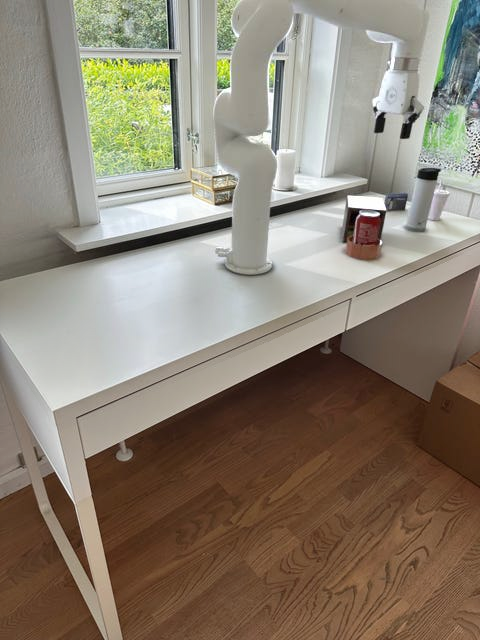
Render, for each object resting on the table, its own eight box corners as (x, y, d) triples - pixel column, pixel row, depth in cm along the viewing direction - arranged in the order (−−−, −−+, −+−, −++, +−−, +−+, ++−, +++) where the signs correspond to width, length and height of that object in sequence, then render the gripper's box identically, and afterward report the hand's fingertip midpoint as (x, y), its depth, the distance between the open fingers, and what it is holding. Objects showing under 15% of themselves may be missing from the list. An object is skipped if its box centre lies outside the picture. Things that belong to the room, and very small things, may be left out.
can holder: (346, 257, 133) (348, 244, 131) (345, 245, 142) (347, 233, 140) (380, 261, 132) (383, 247, 130) (377, 248, 140) (380, 236, 138)
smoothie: (422, 215, 171) (431, 176, 163) (440, 216, 170) (450, 177, 163) (426, 220, 165) (435, 180, 158) (444, 222, 164) (455, 182, 157)
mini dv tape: (384, 210, 174) (388, 194, 171) (382, 209, 175) (386, 193, 172) (404, 210, 175) (408, 194, 172) (402, 208, 177) (406, 192, 174)
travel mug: (422, 233, 154) (437, 171, 143) (402, 228, 157) (416, 167, 147) (428, 228, 158) (443, 167, 148) (409, 224, 161) (423, 164, 151)
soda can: (376, 258, 134) (384, 217, 128) (353, 257, 134) (360, 216, 128) (371, 249, 140) (378, 209, 134) (348, 248, 140) (355, 208, 134)
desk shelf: (342, 242, 144) (348, 207, 138) (342, 228, 155) (347, 195, 149) (379, 245, 143) (386, 210, 137) (376, 231, 154) (382, 198, 148)
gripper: (369, 63, 127) (359, 131, 135) (420, 67, 114) (405, 142, 123) (389, 64, 130) (378, 130, 139) (441, 68, 117) (425, 140, 126)
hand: (391, 135), depth 131 cm, fingers open, 9 cm apart
